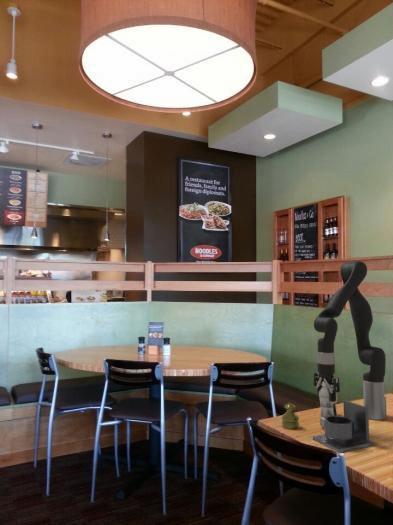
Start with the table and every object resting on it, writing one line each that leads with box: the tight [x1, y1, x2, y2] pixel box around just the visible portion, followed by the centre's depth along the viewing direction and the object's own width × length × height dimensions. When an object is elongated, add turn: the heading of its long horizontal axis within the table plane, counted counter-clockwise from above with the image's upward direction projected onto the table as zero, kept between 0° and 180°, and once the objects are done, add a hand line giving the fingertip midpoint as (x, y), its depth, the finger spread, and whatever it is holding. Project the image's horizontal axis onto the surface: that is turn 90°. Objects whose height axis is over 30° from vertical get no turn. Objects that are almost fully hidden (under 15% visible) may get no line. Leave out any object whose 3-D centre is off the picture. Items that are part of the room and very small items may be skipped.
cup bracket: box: [312, 400, 376, 453], centre depth 166 cm, size 18×15×14 cm
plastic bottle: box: [318, 382, 334, 428], centre depth 183 cm, size 6×7×20 cm
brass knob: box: [281, 403, 300, 430], centre depth 185 cm, size 7×8×10 cm
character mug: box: [332, 388, 338, 416], centre depth 199 cm, size 11×7×13 cm, turn 163°
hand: (326, 399), depth 183 cm, fingers open, 8 cm apart
